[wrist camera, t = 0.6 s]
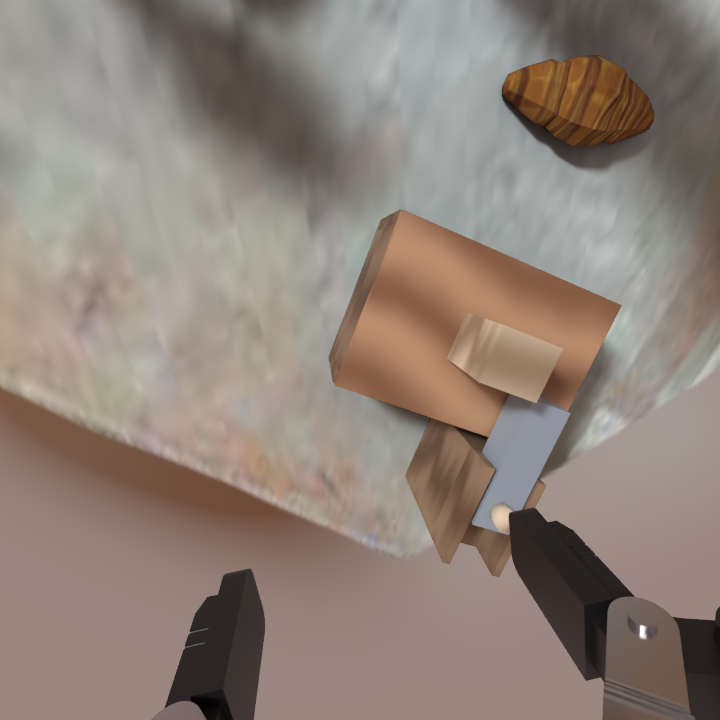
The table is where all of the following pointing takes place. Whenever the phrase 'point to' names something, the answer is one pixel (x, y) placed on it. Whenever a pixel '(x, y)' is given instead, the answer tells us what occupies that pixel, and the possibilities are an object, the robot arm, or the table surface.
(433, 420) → the toolbox
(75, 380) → the table surface
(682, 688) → the robot arm
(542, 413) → the drawer
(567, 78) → the croissant
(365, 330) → the lid
